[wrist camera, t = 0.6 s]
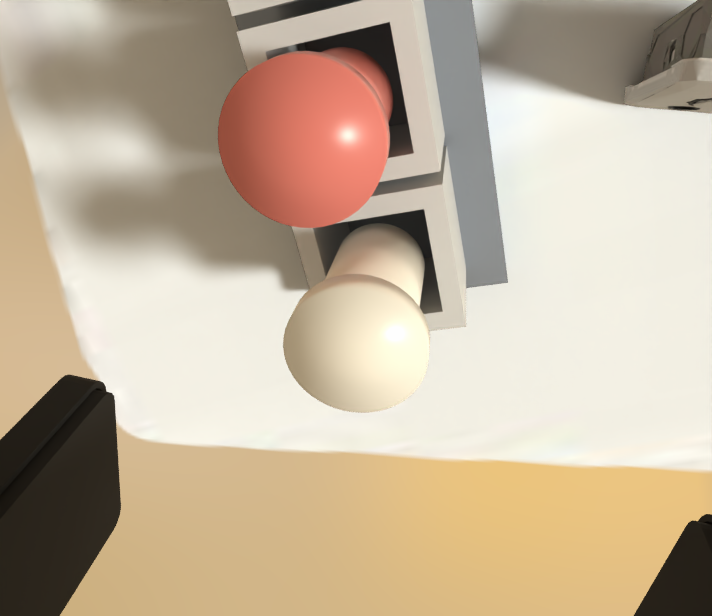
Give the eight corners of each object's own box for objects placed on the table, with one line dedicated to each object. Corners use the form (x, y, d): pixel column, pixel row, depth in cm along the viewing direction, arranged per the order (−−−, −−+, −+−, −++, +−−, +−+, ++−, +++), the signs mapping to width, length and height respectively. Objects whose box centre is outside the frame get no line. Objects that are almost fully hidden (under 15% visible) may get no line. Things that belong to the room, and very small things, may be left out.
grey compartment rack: (438, -257, 28) (427, -349, 20) (505, 265, 40) (516, 343, 31) (198, -175, 31) (101, -226, 23) (324, 290, 42) (290, 368, 34)
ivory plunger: (426, 202, 29) (413, 278, 22) (445, 307, 32) (439, 406, 24) (312, 221, 31) (265, 298, 23) (339, 320, 33) (304, 417, 26)
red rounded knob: (393, 17, 26) (365, 36, 19) (417, 151, 28) (401, 214, 21) (266, 47, 27) (194, 76, 20) (299, 173, 29) (246, 239, 22)
